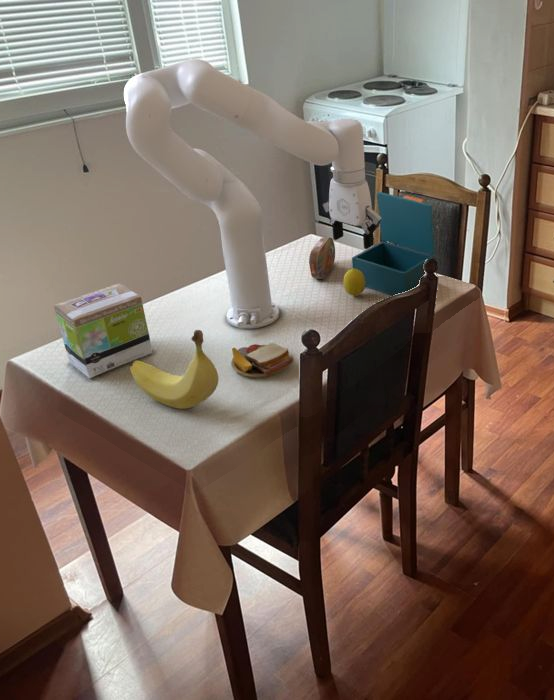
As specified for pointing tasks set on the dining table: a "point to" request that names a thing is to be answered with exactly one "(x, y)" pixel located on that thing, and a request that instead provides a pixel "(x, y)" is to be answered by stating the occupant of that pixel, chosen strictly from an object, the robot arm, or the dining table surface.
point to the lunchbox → (390, 267)
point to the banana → (179, 380)
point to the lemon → (354, 282)
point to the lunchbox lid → (406, 222)
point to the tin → (322, 258)
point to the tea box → (103, 329)
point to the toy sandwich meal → (260, 360)
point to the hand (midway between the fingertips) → (353, 242)
